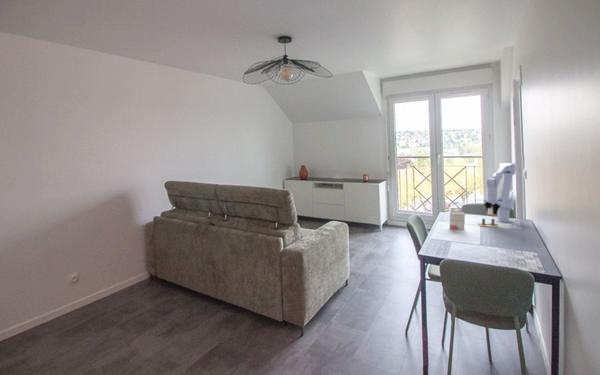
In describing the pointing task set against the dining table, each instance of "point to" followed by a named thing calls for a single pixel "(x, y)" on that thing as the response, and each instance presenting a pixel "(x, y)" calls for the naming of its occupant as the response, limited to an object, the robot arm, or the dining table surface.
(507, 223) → the mat
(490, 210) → the sleeve
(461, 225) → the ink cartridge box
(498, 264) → the dining table surface
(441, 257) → the dining table surface
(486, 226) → the pin board
